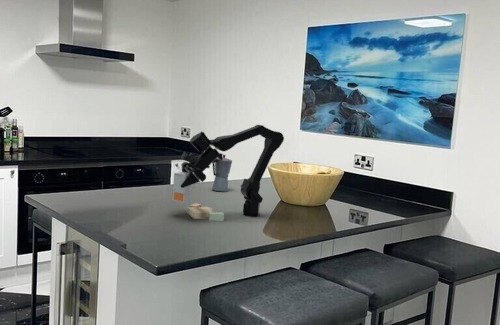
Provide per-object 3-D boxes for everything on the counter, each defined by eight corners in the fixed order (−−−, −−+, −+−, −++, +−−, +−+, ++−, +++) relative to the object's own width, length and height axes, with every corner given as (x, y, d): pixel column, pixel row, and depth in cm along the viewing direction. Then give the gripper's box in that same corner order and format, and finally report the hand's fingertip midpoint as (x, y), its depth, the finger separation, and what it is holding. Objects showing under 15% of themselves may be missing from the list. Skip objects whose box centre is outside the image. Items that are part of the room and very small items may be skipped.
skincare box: (172, 200, 205) (173, 172, 203) (178, 199, 208) (179, 171, 207) (183, 203, 202) (185, 174, 200) (189, 201, 206) (191, 173, 204)
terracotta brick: (194, 209, 220) (195, 203, 220) (200, 210, 220) (201, 204, 219) (189, 212, 215) (189, 205, 214) (195, 213, 214) (196, 206, 214)
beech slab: (208, 212, 216) (209, 207, 216) (216, 218, 207) (216, 212, 207) (186, 212, 212) (187, 207, 212) (193, 218, 203) (194, 212, 203)
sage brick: (222, 219, 207) (223, 212, 207) (223, 221, 204) (224, 214, 204) (208, 219, 206) (208, 212, 205) (209, 220, 203) (209, 213, 202)
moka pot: (234, 190, 274) (237, 155, 272) (218, 193, 261) (221, 156, 259) (220, 187, 279) (223, 153, 277) (204, 190, 266) (207, 154, 264)
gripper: (187, 143, 212) (160, 168, 209) (200, 148, 195) (171, 175, 192) (203, 161, 216) (177, 186, 213) (217, 168, 199) (189, 195, 196)
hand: (178, 185), depth 204 cm, fingers closed on skincare box, 7 cm apart
